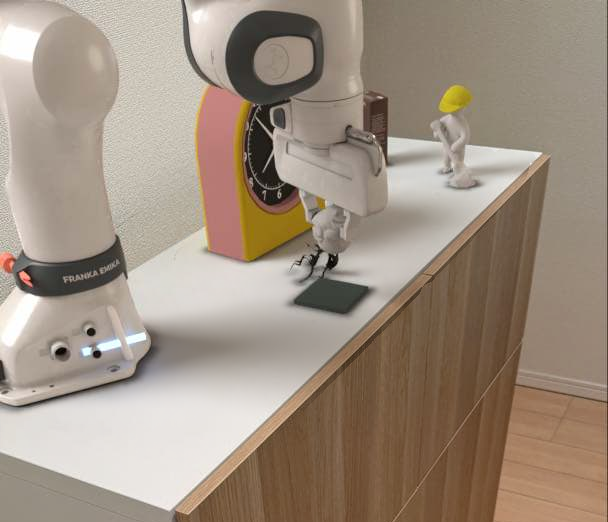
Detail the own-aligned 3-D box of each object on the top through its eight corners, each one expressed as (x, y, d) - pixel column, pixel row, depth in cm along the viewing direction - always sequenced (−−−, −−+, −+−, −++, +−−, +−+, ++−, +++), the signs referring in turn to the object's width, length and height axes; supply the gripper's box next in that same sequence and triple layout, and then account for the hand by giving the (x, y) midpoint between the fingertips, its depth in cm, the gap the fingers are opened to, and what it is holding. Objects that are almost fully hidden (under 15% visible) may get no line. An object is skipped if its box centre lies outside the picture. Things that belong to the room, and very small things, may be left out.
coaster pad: (343, 314, 107) (343, 309, 106) (293, 303, 110) (293, 299, 109) (368, 290, 112) (368, 286, 111) (320, 280, 115) (319, 276, 114)
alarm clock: (248, 262, 121) (229, 70, 103) (206, 250, 125) (181, 63, 107) (327, 218, 133) (322, 39, 115) (286, 208, 137) (275, 34, 119)
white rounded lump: (352, 265, 104) (351, 213, 99) (305, 259, 106) (302, 208, 101) (368, 246, 108) (367, 195, 103) (321, 241, 110) (319, 190, 105)
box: (352, 161, 154) (352, 93, 146) (371, 157, 155) (372, 89, 147) (369, 169, 150) (369, 100, 142) (388, 164, 152) (390, 96, 143)
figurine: (418, 183, 143) (423, 93, 133) (435, 168, 149) (440, 79, 139) (471, 189, 139) (480, 96, 129) (486, 173, 145) (495, 83, 135)
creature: (288, 290, 115) (339, 281, 113) (277, 256, 112) (330, 246, 109) (298, 268, 121) (347, 259, 118) (289, 234, 118) (339, 224, 115)
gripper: (402, 130, 90) (398, 247, 99) (301, 98, 102) (306, 204, 112) (359, 142, 87) (359, 261, 97) (261, 107, 100) (270, 216, 109)
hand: (330, 230), depth 104 cm, fingers closed on white rounded lump, 6 cm apart
